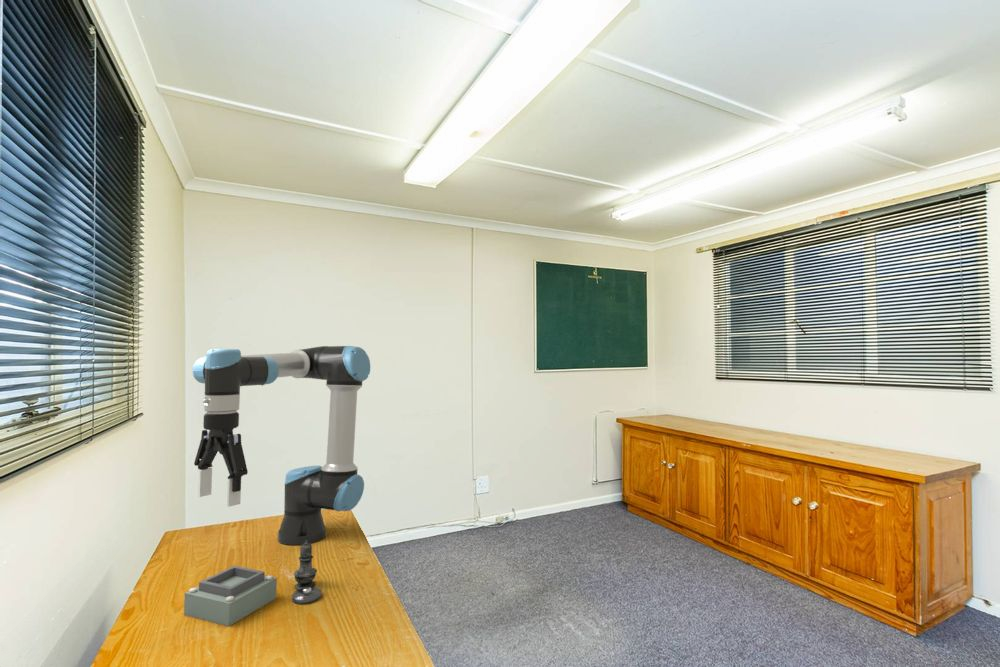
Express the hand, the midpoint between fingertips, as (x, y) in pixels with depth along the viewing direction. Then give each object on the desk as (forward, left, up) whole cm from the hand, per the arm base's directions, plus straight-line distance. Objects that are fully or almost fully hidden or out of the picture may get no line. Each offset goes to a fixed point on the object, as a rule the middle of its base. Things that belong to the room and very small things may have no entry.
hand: (218, 500), depth 119 cm
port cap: (-13, +16, -26) cm, 33 cm away
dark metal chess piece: (-18, +11, -26) cm, 34 cm away
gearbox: (-3, +1, -26) cm, 26 cm away
